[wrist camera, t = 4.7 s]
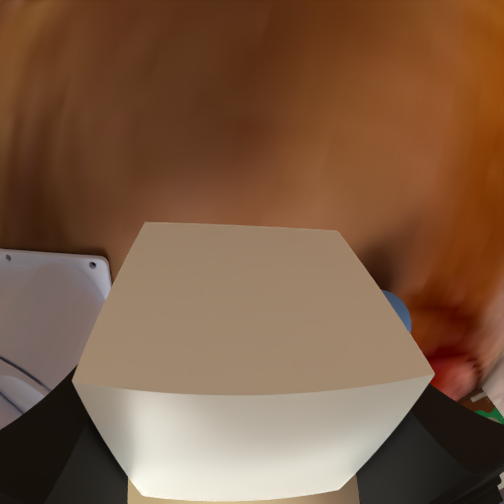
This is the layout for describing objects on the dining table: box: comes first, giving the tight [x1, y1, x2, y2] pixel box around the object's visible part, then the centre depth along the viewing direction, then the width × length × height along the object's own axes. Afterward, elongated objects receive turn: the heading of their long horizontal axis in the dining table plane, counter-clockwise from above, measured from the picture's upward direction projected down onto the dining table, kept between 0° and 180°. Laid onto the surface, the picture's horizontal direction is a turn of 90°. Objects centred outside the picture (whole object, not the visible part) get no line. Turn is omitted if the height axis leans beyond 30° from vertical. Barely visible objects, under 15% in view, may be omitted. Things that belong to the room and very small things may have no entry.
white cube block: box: [72, 222, 435, 501], centre depth 9 cm, size 6×6×6 cm
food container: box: [458, 389, 504, 424], centre depth 30 cm, size 12×6×10 cm, turn 168°
